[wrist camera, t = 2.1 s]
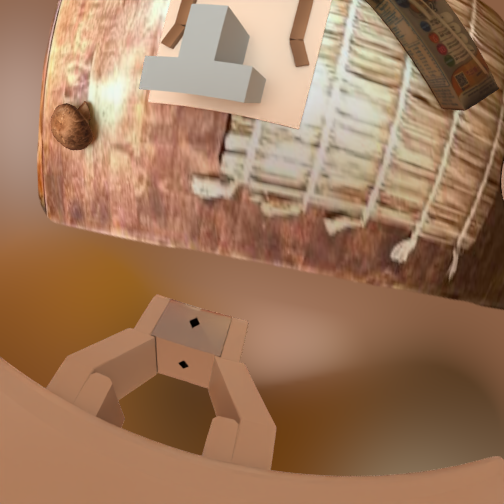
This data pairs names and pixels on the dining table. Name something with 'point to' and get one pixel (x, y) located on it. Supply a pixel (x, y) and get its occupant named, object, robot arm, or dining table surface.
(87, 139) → the mushroom
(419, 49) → the beverage carton
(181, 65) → the tee block
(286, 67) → the board
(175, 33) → the dock fence
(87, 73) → the dining table surface
